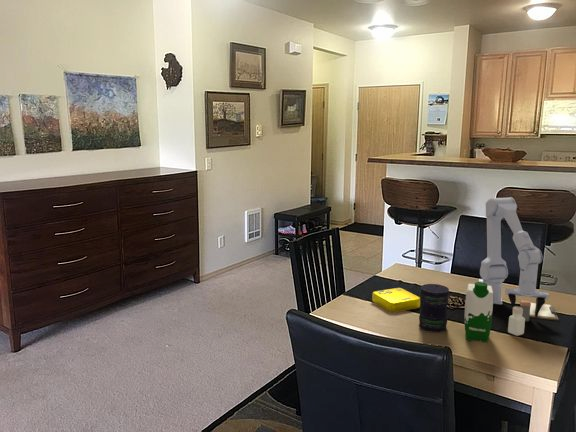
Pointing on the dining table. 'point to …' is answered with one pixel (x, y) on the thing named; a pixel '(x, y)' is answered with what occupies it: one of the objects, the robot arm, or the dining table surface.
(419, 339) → the dining table surface
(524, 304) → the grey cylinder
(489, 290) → the milk carton
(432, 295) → the storage jar
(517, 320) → the salt shaker
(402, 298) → the element tile
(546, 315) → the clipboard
